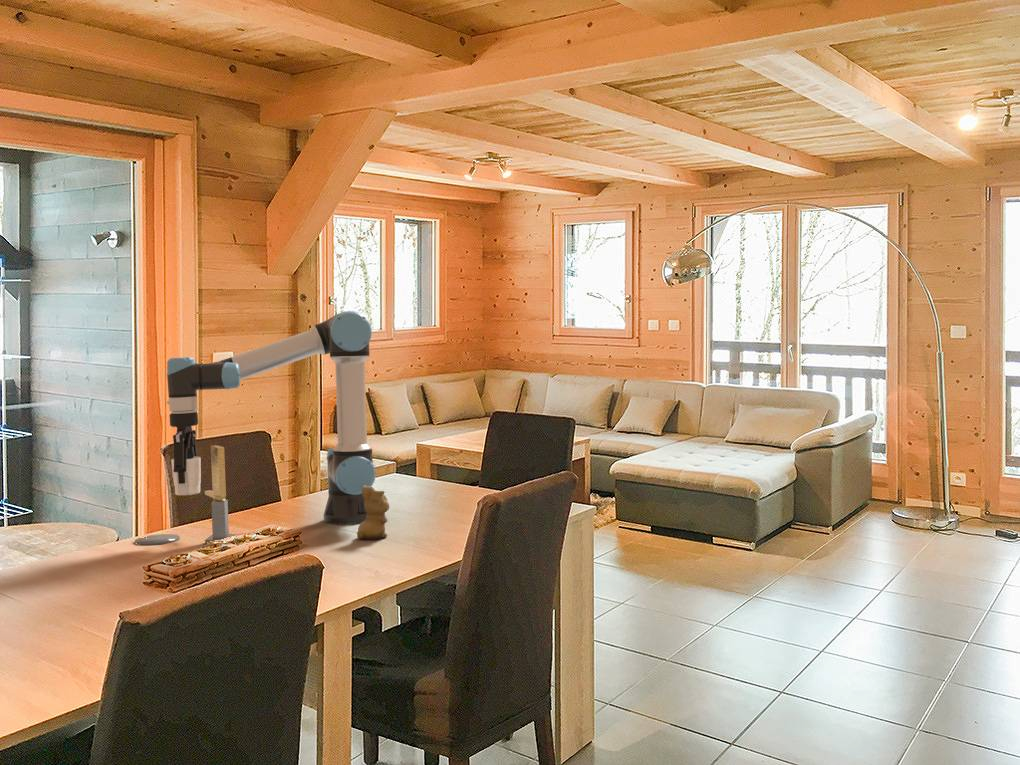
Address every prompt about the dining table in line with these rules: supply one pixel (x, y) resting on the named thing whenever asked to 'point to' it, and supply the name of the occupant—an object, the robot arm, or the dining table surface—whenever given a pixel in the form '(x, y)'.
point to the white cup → (190, 475)
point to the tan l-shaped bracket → (217, 474)
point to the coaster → (157, 539)
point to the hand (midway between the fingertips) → (187, 492)
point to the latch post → (219, 521)
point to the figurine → (373, 515)
